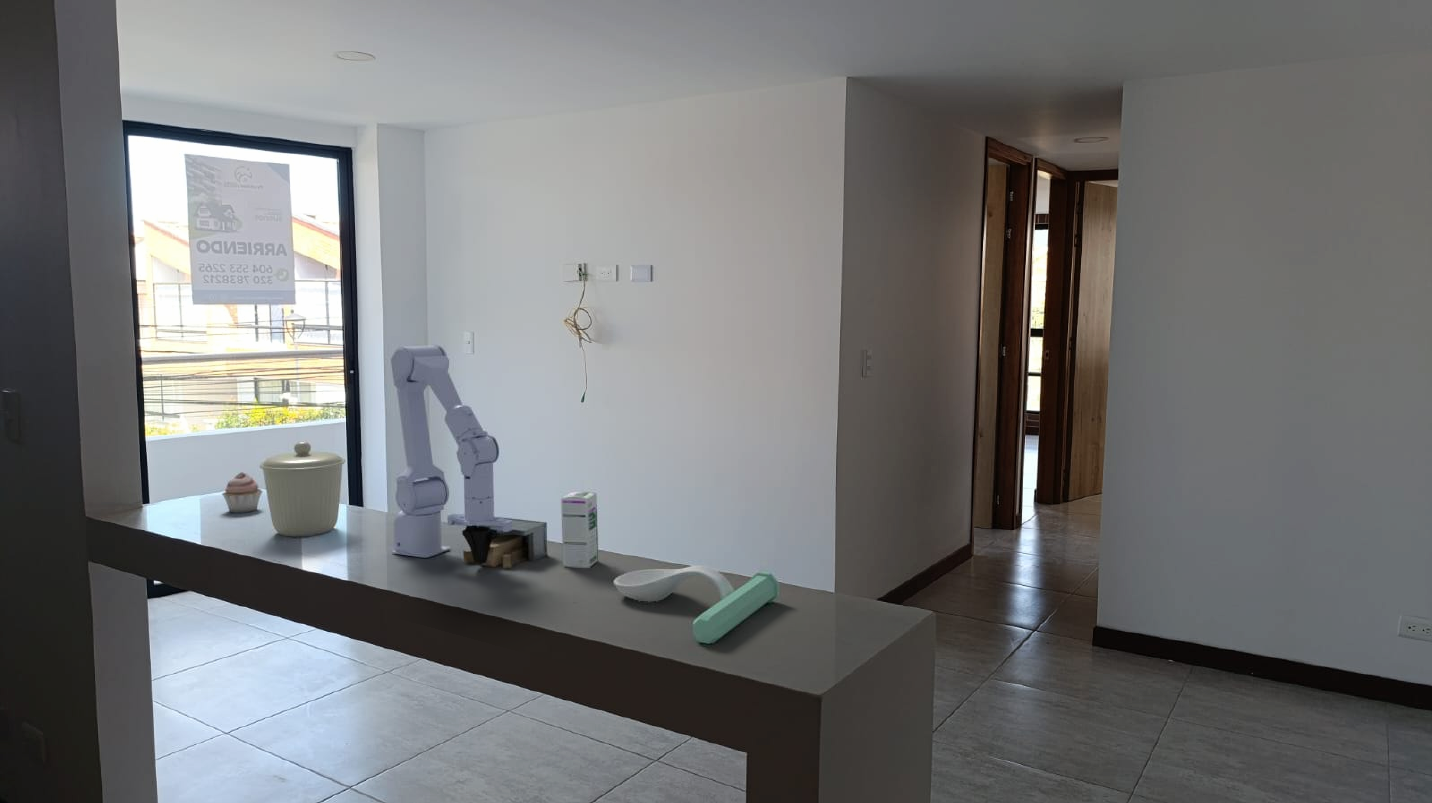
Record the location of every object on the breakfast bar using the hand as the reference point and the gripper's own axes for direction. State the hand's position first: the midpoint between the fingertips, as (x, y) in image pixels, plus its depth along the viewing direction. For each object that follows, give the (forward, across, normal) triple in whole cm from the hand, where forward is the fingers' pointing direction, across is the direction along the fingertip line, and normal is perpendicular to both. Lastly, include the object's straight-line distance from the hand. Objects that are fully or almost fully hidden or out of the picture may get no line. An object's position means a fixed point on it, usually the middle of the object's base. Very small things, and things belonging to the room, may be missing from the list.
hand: (480, 562), depth 190 cm
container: (+2, +59, -8) cm, 59 cm away
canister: (+1, -55, +8) cm, 56 cm away
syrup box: (+1, +17, +11) cm, 20 cm away
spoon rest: (+2, +45, -3) cm, 45 cm away
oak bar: (+1, 0, +7) cm, 7 cm away
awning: (+1, 0, +8) cm, 8 cm away
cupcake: (+1, -87, +18) cm, 89 cm away
